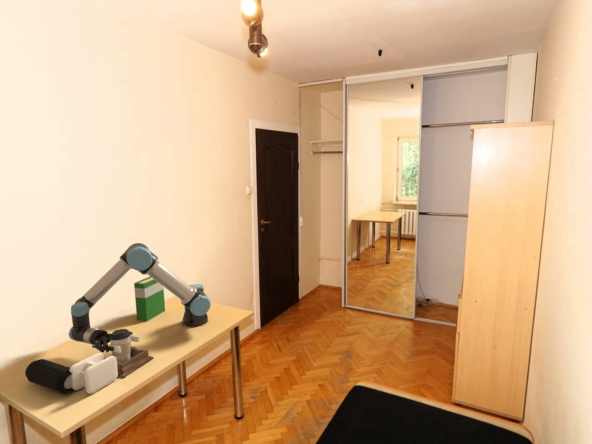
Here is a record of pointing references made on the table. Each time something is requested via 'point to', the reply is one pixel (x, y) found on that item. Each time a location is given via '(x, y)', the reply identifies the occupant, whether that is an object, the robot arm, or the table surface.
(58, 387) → the portable speaker
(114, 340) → the coffee cup
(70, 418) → the table surface
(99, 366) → the cable organizer
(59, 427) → the table surface
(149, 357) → the brown wooden tray
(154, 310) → the hardback book
